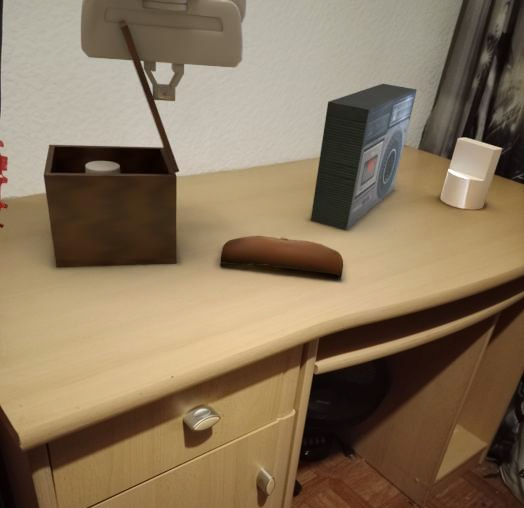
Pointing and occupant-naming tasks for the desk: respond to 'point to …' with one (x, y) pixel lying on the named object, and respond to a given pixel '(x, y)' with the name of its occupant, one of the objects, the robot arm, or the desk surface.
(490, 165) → the base with upright slab
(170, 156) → the box lid
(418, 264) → the desk surface
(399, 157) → the cassette player
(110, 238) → the box
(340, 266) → the sunglasses case
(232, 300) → the desk surface
